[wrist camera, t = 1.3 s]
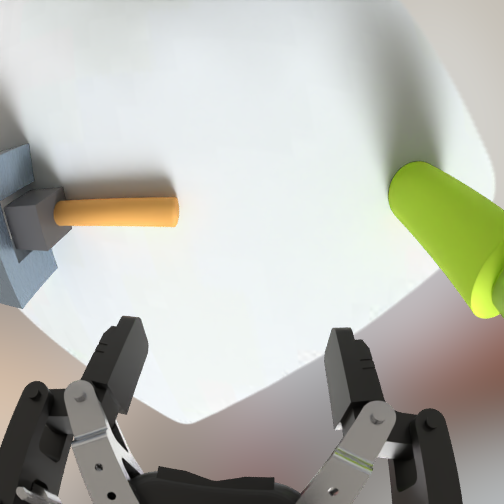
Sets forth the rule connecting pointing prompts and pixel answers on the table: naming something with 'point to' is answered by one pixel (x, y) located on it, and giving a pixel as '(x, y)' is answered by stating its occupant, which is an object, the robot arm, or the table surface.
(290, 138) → the table surface
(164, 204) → the hammer
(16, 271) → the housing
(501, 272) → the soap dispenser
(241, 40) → the table surface
